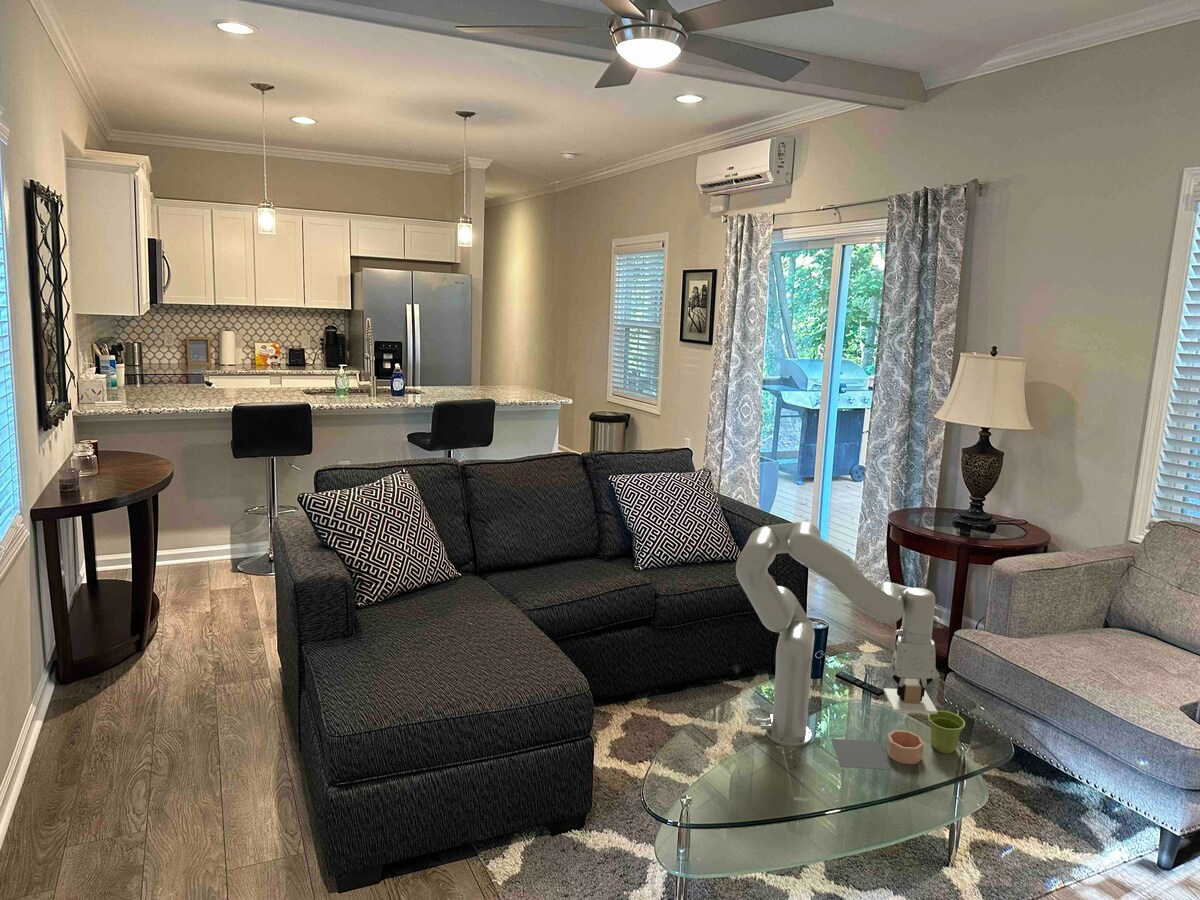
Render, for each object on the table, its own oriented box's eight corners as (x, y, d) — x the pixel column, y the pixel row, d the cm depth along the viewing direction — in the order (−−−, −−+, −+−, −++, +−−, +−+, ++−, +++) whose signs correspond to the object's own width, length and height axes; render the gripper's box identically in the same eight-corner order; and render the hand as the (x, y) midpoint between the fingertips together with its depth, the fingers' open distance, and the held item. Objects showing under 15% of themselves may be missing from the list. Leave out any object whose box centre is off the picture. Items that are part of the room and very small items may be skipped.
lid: (893, 712, 220) (895, 692, 219) (883, 690, 231) (885, 671, 229) (937, 714, 219) (939, 694, 218) (924, 692, 230) (926, 673, 228)
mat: (840, 768, 223) (840, 766, 223) (830, 740, 235) (830, 738, 235) (890, 771, 222) (890, 769, 222) (878, 743, 234) (878, 741, 234)
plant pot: (964, 759, 227) (968, 731, 225) (928, 755, 229) (931, 726, 227) (957, 740, 236) (961, 712, 234) (922, 736, 238) (925, 708, 236)
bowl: (891, 764, 225) (893, 747, 224) (883, 745, 233) (884, 729, 232) (925, 766, 224) (927, 749, 223) (915, 747, 233) (917, 731, 232)
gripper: (887, 640, 217) (881, 704, 222) (953, 642, 216) (946, 707, 220) (880, 627, 225) (874, 689, 229) (944, 630, 223) (937, 692, 228)
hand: (910, 697), depth 225 cm, fingers closed on lid, 4 cm apart
